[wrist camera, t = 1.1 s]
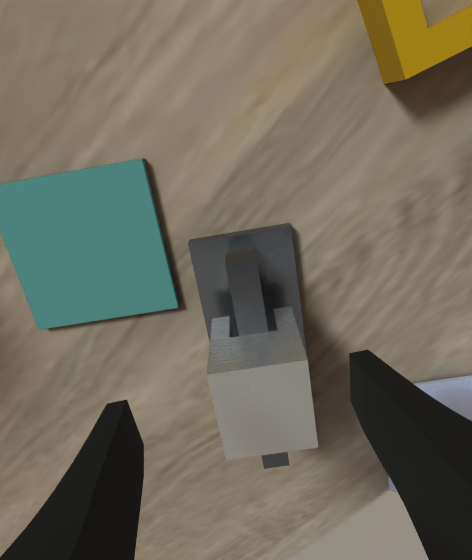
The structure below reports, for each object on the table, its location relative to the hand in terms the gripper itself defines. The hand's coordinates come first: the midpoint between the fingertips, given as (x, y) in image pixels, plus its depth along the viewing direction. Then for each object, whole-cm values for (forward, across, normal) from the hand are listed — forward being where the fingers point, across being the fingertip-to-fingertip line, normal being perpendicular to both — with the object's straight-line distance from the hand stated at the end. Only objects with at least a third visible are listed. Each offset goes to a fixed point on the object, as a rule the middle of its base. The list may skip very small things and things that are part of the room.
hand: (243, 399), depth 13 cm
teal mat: (+14, +7, -1) cm, 16 cm away
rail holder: (+12, -2, +6) cm, 14 cm away
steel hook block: (+9, -1, +6) cm, 11 cm away
